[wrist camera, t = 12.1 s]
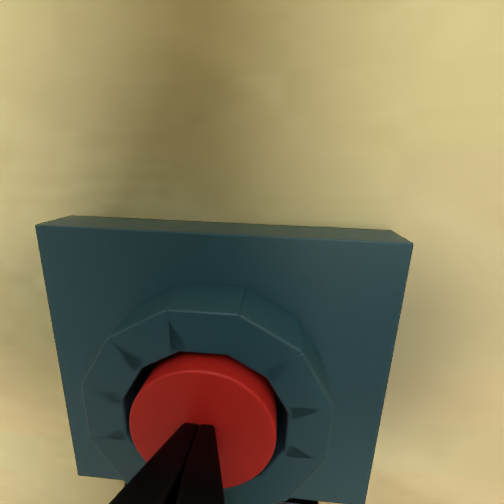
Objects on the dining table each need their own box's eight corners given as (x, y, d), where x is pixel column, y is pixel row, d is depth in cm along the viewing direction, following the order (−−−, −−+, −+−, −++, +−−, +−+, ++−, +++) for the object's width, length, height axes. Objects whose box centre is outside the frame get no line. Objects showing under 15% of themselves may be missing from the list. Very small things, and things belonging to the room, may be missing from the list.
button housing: (353, 463, 13) (380, 569, 9) (101, 438, 14) (44, 528, 10) (391, 230, 10) (450, 264, 7) (70, 215, 11) (-23, 239, 7)
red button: (273, 442, 10) (272, 498, 9) (157, 432, 10) (133, 483, 9) (280, 337, 9) (280, 377, 7) (149, 328, 9) (121, 364, 8)
